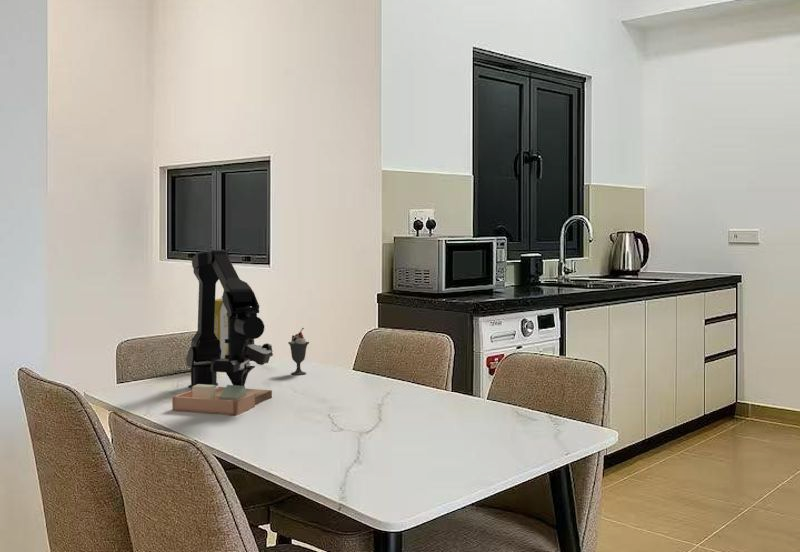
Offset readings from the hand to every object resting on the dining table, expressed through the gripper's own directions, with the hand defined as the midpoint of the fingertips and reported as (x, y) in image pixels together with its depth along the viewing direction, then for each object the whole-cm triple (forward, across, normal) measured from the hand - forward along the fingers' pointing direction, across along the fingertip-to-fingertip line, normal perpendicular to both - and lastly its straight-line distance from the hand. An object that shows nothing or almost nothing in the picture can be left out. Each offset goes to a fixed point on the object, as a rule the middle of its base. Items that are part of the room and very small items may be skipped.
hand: (239, 393), depth 206 cm
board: (+3, +5, +4) cm, 7 cm away
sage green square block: (+1, -2, 0) cm, 3 cm away
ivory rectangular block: (0, -3, +8) cm, 8 cm away
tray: (+3, -6, +4) cm, 8 cm away
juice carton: (+3, +51, +34) cm, 61 cm away
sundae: (+3, +47, +4) cm, 47 cm away
